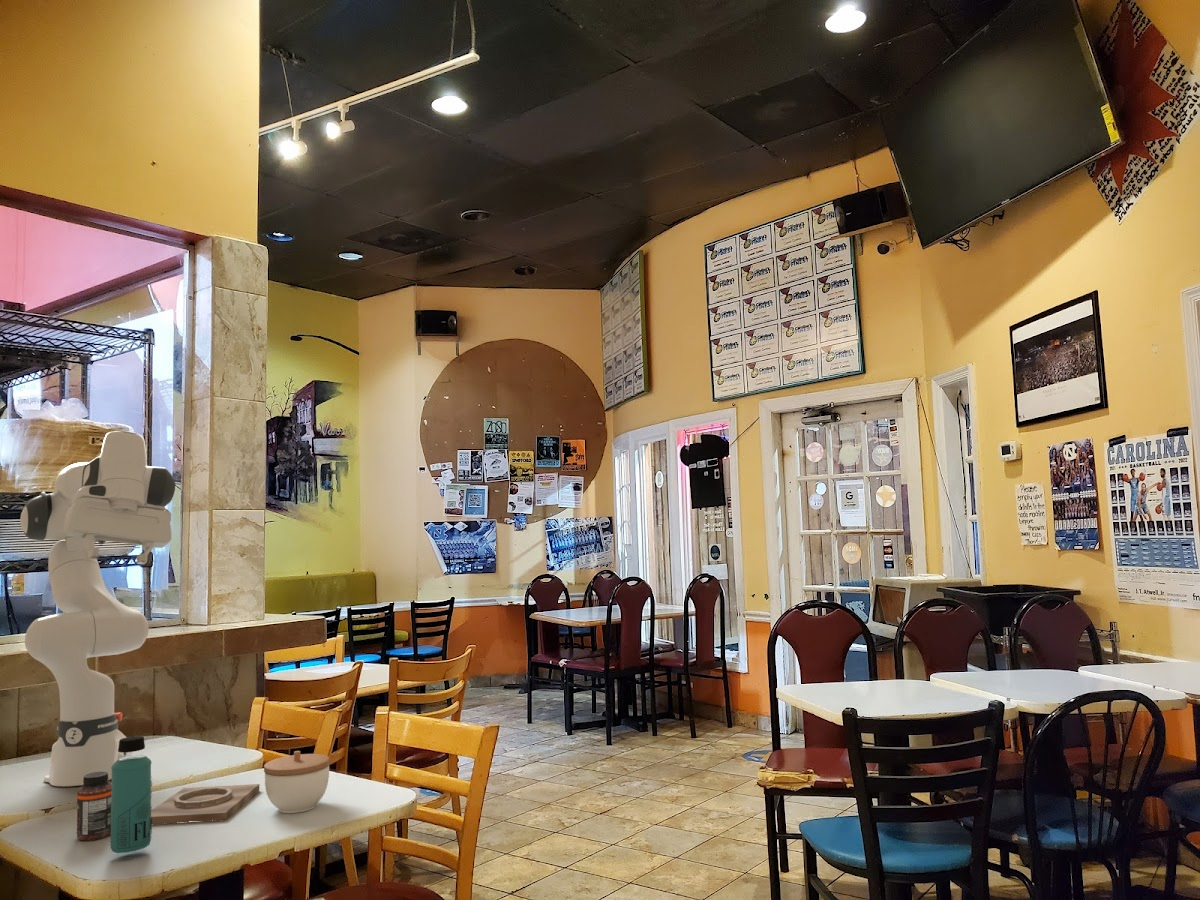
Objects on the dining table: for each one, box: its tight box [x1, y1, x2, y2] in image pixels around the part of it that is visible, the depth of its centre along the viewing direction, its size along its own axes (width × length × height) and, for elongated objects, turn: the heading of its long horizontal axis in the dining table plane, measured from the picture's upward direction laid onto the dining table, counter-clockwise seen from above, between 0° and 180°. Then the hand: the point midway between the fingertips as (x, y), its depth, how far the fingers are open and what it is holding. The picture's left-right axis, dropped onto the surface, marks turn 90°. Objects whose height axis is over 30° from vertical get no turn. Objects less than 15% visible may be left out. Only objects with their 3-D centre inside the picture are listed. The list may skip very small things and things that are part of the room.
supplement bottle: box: [76, 771, 112, 842], centre depth 163 cm, size 6×6×11 cm
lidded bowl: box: [263, 750, 331, 814], centre depth 176 cm, size 13×13×11 cm
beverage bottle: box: [109, 735, 153, 854], centre depth 153 cm, size 6×7×20 cm
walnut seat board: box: [151, 783, 261, 825], centre depth 179 cm, size 20×16×2 cm
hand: (117, 560), depth 180 cm, fingers open, 8 cm apart
